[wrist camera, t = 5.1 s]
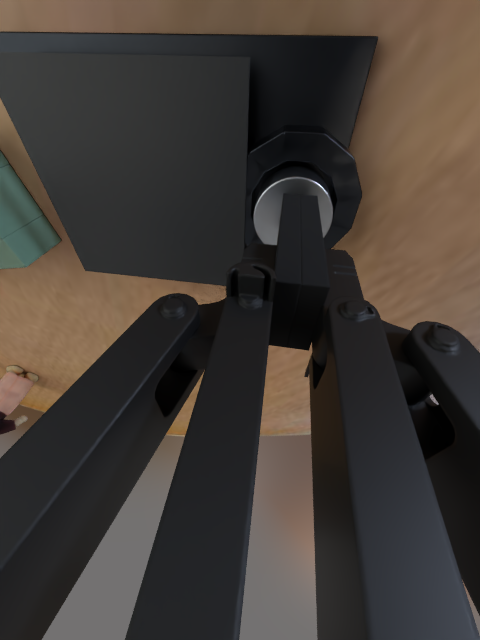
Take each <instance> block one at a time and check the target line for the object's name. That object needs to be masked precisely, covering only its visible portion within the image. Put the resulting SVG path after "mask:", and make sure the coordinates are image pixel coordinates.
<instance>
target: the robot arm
mask: <svg viewBox="0 0 480 640" xmlns="http://www.w3.org/2000/svg"><path fill="white" fill-rule="evenodd" d="M226 295H227V297H226V298H225V299H223V300H221V301H219V302H215V303H210V304H202V305H198V303H197V302H196V300H195V299H194V298H193V297H191V296H189V295H187V294H180V293H176V294H169V295H166V296H163V297H160V298H159V299H158V300H156V301H155V302H154V303H153V304H152V305H151V306H150V307H149V308H148V309H147V310H146V311H145V312H144V313H143V314H142V315H141V316H140V317H139V318H138V319H137V320H136V321H135V322H134V323H133V324H132V325H131V326H130V327H129V328H128V329H127V330H126V331H125V332H124V333H123V334H122V335H121V336H120V337H119V338H118V339H117V340H116V341H115V342H114V343H113V344H112V345H111V346H110V347H109V348H108V349H107V350H106V351H105V352H104V353H103V354H102V355H101V357H100V358H99V359H98V360H97V361H96V362H95V363H94V364H93V365H92V366H91V367H90V368H89V369H88V370H87V371H86V372H85V373H84V374H83V375H82V376H81V377H80V378H79V379H78V380H77V381H76V382H75V383H74V384H73V385H72V386H71V387H70V388H69V389H68V390H67V391H66V392H65V393H64V394H63V395H62V396H61V397H60V398H59V399H58V400H57V401H56V402H55V403H54V404H53V405H52V406H51V407H50V408H49V409H48V410H47V411H46V412H45V414H43V415H42V417H41V418H40V419H38V421H37V422H36V423H35V424H34V425H33V426H32V427H31V428H30V429H29V430H28V431H27V432H26V433H25V434H24V435H23V436H22V437H21V438H20V439H19V440H18V441H17V442H16V443H15V444H14V445H13V446H12V447H11V448H10V449H9V450H8V451H7V452H6V453H5V454H4V455H3V456H2V457H1V458H0V640H42V638H43V636H44V635H45V633H46V631H47V630H48V628H49V626H50V625H51V623H52V621H53V620H54V618H55V616H56V615H57V613H58V611H59V610H60V608H61V606H62V605H63V603H64V602H65V600H66V598H67V597H68V595H69V593H70V591H71V590H72V588H73V587H74V585H75V583H76V582H77V580H78V578H79V577H80V575H81V573H82V572H83V570H84V568H85V567H86V565H87V563H88V562H89V560H90V558H91V557H92V555H93V554H94V552H95V550H96V549H97V547H98V545H99V543H100V542H101V540H102V539H103V537H104V535H105V533H106V532H107V530H108V529H109V527H110V525H111V524H112V522H113V521H114V519H115V517H116V516H117V514H118V512H119V511H120V509H121V507H122V506H123V504H124V502H125V501H126V499H127V497H128V496H129V494H130V493H131V491H132V489H133V487H134V486H135V484H136V483H137V481H138V479H139V477H140V476H141V474H142V473H143V471H144V469H145V468H146V466H147V464H148V463H149V461H150V459H151V458H152V456H153V455H154V453H155V451H156V449H157V448H158V446H159V445H160V443H161V441H162V440H163V438H164V436H165V435H166V433H167V431H168V430H169V428H170V426H171V425H172V423H173V421H174V420H175V418H176V417H177V415H178V413H179V412H180V410H181V408H182V407H183V405H184V403H185V402H186V400H187V398H188V397H189V395H190V393H191V392H192V390H193V388H194V387H195V385H196V383H197V382H198V380H199V379H200V377H201V375H202V374H203V372H204V375H203V378H202V381H201V385H200V388H199V392H198V395H197V398H196V402H195V405H194V408H193V412H192V415H191V419H190V422H189V425H188V429H187V432H186V435H185V439H184V443H183V446H182V449H181V453H180V456H179V459H178V463H177V466H176V469H175V473H174V476H173V479H172V483H171V486H170V489H169V493H168V496H167V500H166V503H165V506H164V510H163V513H162V516H161V520H160V523H159V527H158V530H157V533H156V537H155V540H154V543H153V547H152V550H151V554H150V557H149V560H148V564H147V567H146V571H145V574H144V577H143V580H142V584H141V587H140V591H139V594H138V597H137V601H136V604H135V608H134V611H133V615H132V618H131V621H130V624H129V628H128V631H127V635H126V638H125V640H239V634H240V625H241V614H242V604H243V595H244V585H245V575H246V565H247V554H248V545H249V535H250V525H251V515H252V505H253V495H254V485H255V475H256V464H257V455H258V445H259V436H260V426H261V416H262V406H263V396H264V386H265V376H266V366H267V356H268V346H269V345H272V346H280V347H287V348H295V349H302V350H309V348H310V345H311V342H312V355H311V358H310V360H309V363H308V366H307V369H306V372H305V376H304V377H308V375H309V379H310V411H311V443H312V473H313V507H314V536H315V537H314V539H315V572H316V603H317V634H318V635H317V636H318V640H480V636H479V633H478V630H477V627H476V623H475V620H474V617H473V614H472V610H471V607H470V604H469V601H468V598H467V594H466V591H465V588H464V585H463V582H464V584H465V586H466V588H467V590H468V592H469V595H470V597H471V599H472V601H473V603H474V605H475V607H476V609H477V611H478V613H479V615H480V353H479V352H478V350H477V349H476V348H475V347H474V346H473V345H472V344H471V343H470V342H469V341H468V339H466V338H465V337H464V336H463V335H462V334H461V333H459V332H458V331H456V330H454V329H453V328H451V327H449V326H447V325H444V324H441V323H438V322H429V321H425V322H421V323H418V324H416V325H415V326H414V327H413V328H412V330H411V331H410V330H407V329H404V328H401V327H398V326H395V325H392V324H390V323H387V322H385V321H383V320H381V318H380V315H379V313H378V311H377V310H376V308H375V307H374V306H373V305H371V304H370V303H369V302H367V301H365V300H364V298H363V294H362V290H361V287H360V283H359V279H358V276H357V272H356V269H355V265H354V261H353V258H352V257H351V256H350V255H349V254H348V253H347V252H346V251H345V250H334V249H325V247H324V240H323V232H322V225H321V218H320V211H319V204H318V196H315V195H301V194H288V193H283V200H282V208H281V216H280V223H279V231H278V239H277V245H270V244H259V243H251V244H250V245H249V246H248V247H246V248H245V249H244V253H243V256H242V260H241V263H237V264H235V265H233V266H232V267H230V268H229V269H228V271H227V272H226ZM204 370H205V371H204ZM431 394H433V396H434V397H435V399H436V400H437V402H438V403H439V405H437V404H435V403H434V402H433V401H432V400H431V398H430V397H429V396H430V395H431ZM462 580H463V582H462Z"/></svg>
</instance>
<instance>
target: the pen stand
mask: <svg viewBox="0 0 480 640" xmlns="http://www.w3.org/2000/svg"><path fill="white" fill-rule="evenodd" d="M60 241H61V239H60V238H59V236H58V235H57V233H56V232H55V230H54V229H53V227H52V226H51V224H50V223H49V221H48V220H47V218H46V217H45V216H44V215H43V213H42V211H41V210H40V208H39V207H38V205H37V204H36V202H35V201H34V199H33V198H32V196H31V195H30V193H29V192H28V191H27V189H26V188H25V186H24V185H23V183H22V182H21V180H20V179H19V177H18V176H17V174H16V173H15V171H14V170H13V169H12V167H11V166H10V165H9V163H8V161H7V160H6V158H5V157H4V155H3V154H2V152H1V151H0V269H7V268H23V267H27V266H29V265H30V264H31V263H33V262H34V261H35V260H37V259H38V258H39V257H41V256H42V255H43V254H45V253H46V252H47V251H49V250H50V249H51V248H53V247H54V246H55V245H57V244H58V243H59V242H60Z"/></svg>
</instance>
